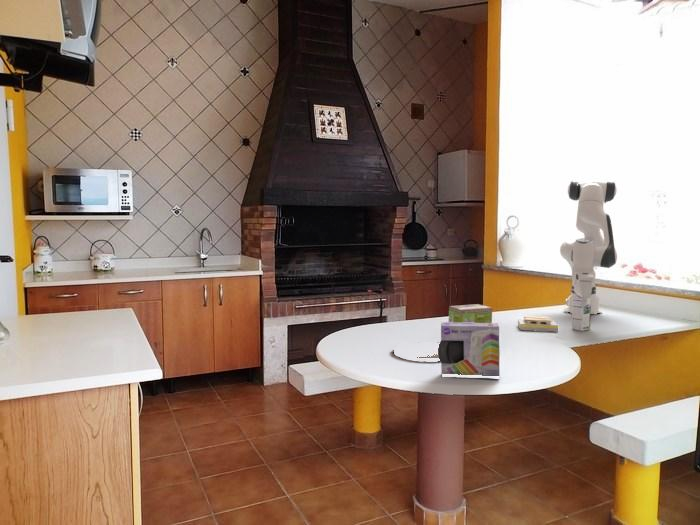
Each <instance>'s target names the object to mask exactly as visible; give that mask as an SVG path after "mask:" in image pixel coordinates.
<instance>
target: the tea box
mask: <svg viewBox="0 0 700 525" xmlns="http://www.w3.org/2000/svg"><path fill="white" fill-rule="evenodd" d="M448 322H458V323H462V322H472V323H493V307H490V306H486V305H483V304H479V303H477V304H475V303H474V304H463V305H461V304H460V305H450V306H448Z"/></svg>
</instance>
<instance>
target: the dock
mask: <svg viewBox="0 0 700 525" xmlns="http://www.w3.org/2000/svg"><path fill="white" fill-rule="evenodd" d="M551 320H552V322H550V324H546V323H545V322H540V324H536V322H531V324H527V323H526V321H525V319H524V318H518V319H517V326H518V325H519V326H518V328H520V329H521V330H536V331H535V332H545V331H554V332H553V333H558V331H559V325H558V323H557V322H556V321H555V319H551ZM520 329H519V330H520ZM521 330H520V331H521Z"/></svg>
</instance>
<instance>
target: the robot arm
mask: <svg viewBox="0 0 700 525" xmlns="http://www.w3.org/2000/svg"><path fill="white" fill-rule="evenodd" d="M617 192H618V191H617V186H616V183H615V181H613V180H608V179H607V180H605V179H599V178H598V179H597V178H593V179H573V180H572V181H570V183H569V185H568V187H567V195H568V198H569V199H571V200H572V201H576V202H577V201H578V204H577V213H576V222H575V227H576V229H577V230H578V231H579V232H581V233H582V234H583V236H584V237H583V238H582V237H581V238H578V239H570V240H565V241H564V242H562V243H561V245H560V248H559V252H560V255H561V257H562V258H563V260H565V261H566V262H568V264H569V266H570V268H571V278H572V282H571V283H572V285H571V286H570V287H571V288H570V290H571V291H570V295H569V296H568V298H565V303H566V306H564V309H563V312H564V313H568V312H570V313H569V314H572V298H578V297H582V303H581V306H582V307H586V302H587V298H591V314H594V315H598V314H597V313H600V314H603V311H602V310H600V299H599V297H598V295H596V293H597V286H596V276H597V273H596V271H595V270H594V267H598V268H599V267H600V268H604V269H605V268H606V269H609V268H612V267H613V266H614V265H616V263H617V261H618V253H617V250H616V247H615V240H614V233H613V224H612V219H611V217H610V215H609V214H608V213H607V212H605V210H604V204H606V203H608V202H611V201H612V200H614V198H615V197H616V194H617ZM601 231H602V233H603V235H602V233H601Z"/></svg>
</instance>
